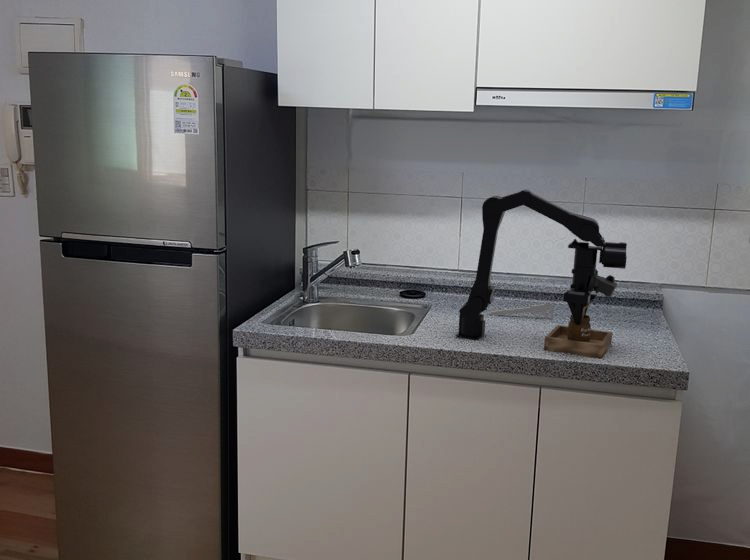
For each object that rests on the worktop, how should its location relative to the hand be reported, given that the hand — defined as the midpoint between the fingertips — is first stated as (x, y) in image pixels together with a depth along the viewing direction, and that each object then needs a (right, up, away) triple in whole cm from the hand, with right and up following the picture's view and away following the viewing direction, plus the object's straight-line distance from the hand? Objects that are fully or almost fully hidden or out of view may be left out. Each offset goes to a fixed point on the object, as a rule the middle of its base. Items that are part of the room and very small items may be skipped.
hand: (579, 322), depth 197 cm
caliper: (-10, -1, +33) cm, 35 cm away
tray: (0, -7, +1) cm, 7 cm away
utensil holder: (0, -5, +1) cm, 5 cm away
